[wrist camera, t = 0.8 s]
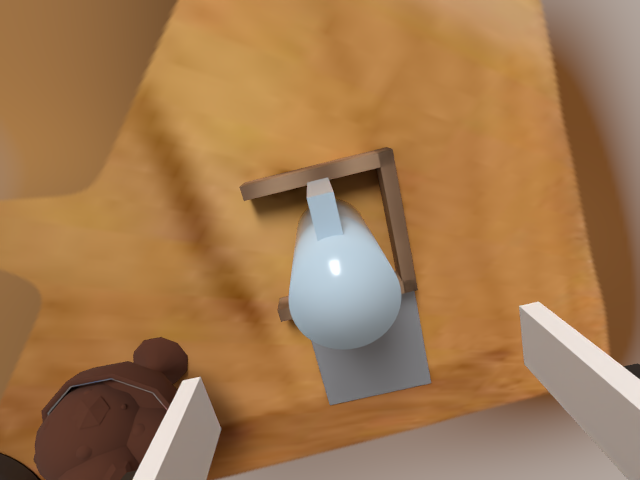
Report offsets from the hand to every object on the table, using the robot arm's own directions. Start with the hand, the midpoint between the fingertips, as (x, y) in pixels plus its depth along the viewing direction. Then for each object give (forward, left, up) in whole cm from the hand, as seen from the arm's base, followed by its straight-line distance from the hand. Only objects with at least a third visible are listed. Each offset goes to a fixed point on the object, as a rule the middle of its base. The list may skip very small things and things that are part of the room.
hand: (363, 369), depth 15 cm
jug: (0, +1, -20) cm, 20 cm away
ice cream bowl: (-20, -9, -20) cm, 30 cm away
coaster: (+1, -13, -20) cm, 24 cm away
